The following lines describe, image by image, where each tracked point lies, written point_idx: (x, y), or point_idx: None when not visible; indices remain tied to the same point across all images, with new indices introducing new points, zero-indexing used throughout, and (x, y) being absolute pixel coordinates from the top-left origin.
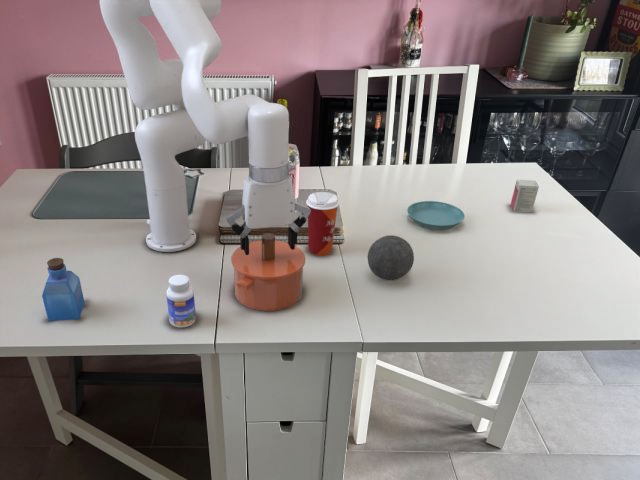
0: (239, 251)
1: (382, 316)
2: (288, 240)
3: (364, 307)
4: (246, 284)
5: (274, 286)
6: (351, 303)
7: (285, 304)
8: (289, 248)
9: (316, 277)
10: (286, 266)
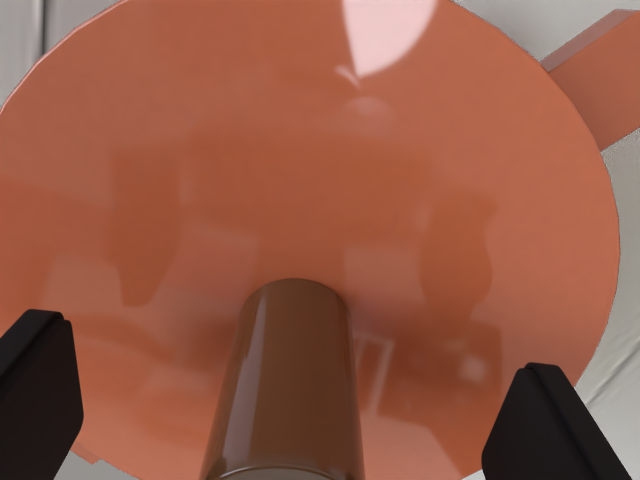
0: (49, 144)
1: (635, 463)
2: (528, 420)
3: (623, 411)
4: (92, 455)
5: None
6: (600, 380)
7: None
8: (540, 251)
9: (619, 150)
10: (373, 454)
